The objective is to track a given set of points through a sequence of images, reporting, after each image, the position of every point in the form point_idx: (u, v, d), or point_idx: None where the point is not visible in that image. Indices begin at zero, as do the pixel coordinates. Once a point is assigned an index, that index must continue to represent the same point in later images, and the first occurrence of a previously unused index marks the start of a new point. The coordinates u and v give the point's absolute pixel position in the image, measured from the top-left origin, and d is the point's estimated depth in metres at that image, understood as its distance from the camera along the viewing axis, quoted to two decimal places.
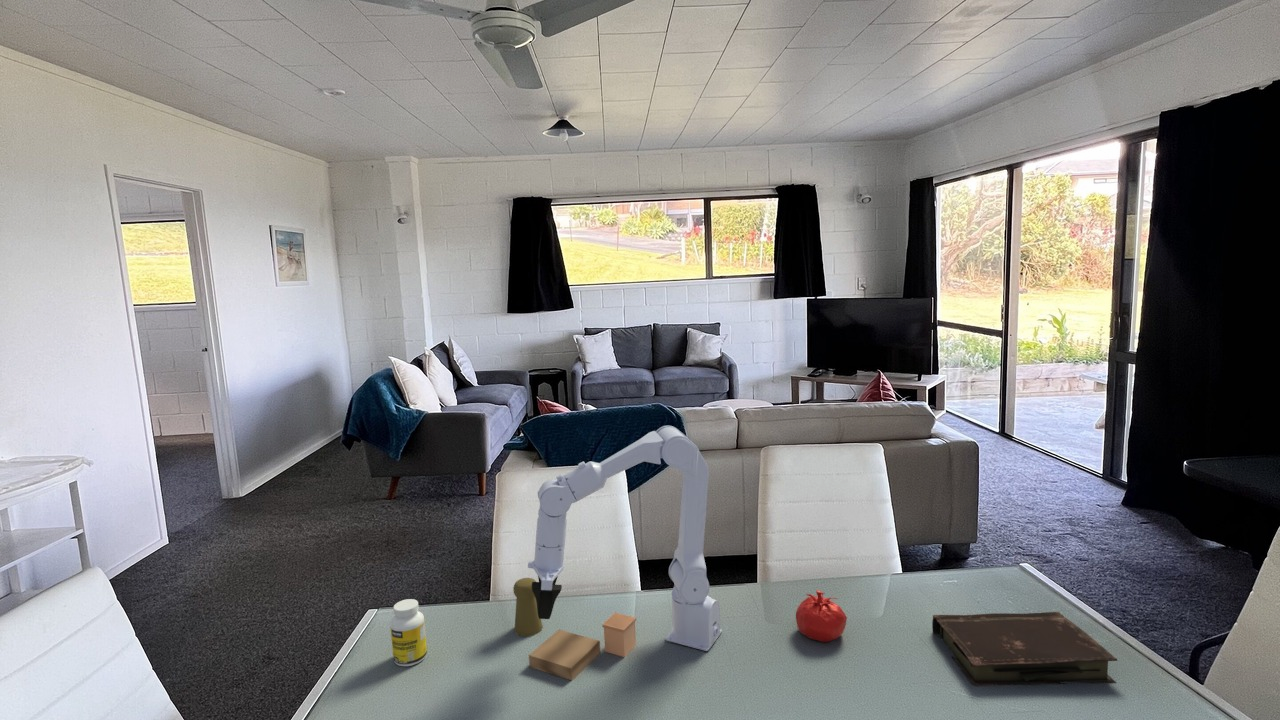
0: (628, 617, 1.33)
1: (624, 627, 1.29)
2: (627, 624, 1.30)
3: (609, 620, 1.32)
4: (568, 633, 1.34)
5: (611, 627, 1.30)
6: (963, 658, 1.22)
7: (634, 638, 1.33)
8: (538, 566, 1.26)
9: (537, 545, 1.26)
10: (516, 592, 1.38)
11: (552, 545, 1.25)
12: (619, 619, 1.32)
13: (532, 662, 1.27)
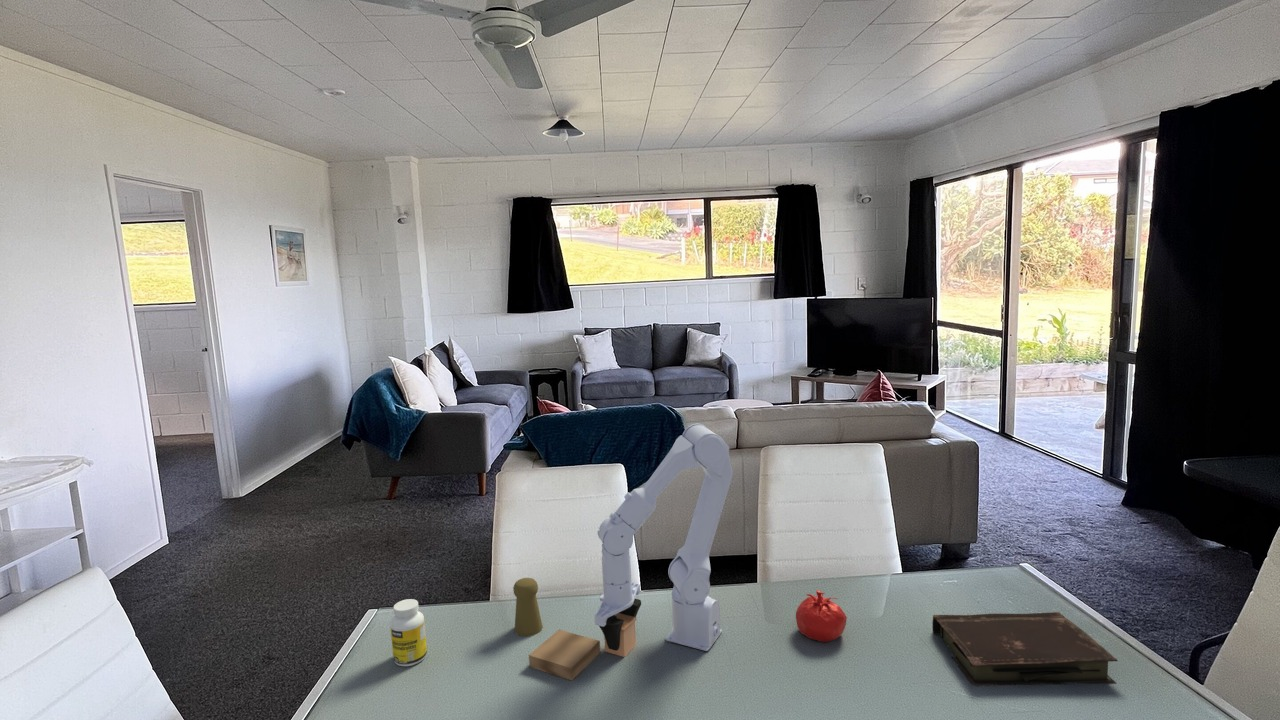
0: (628, 617, 1.33)
1: (624, 627, 1.29)
2: (627, 624, 1.30)
3: None
4: (568, 633, 1.34)
5: None
6: (963, 658, 1.22)
7: (634, 638, 1.33)
8: (604, 600, 1.30)
9: None
10: (516, 592, 1.38)
11: (620, 582, 1.28)
12: None
13: (532, 662, 1.27)
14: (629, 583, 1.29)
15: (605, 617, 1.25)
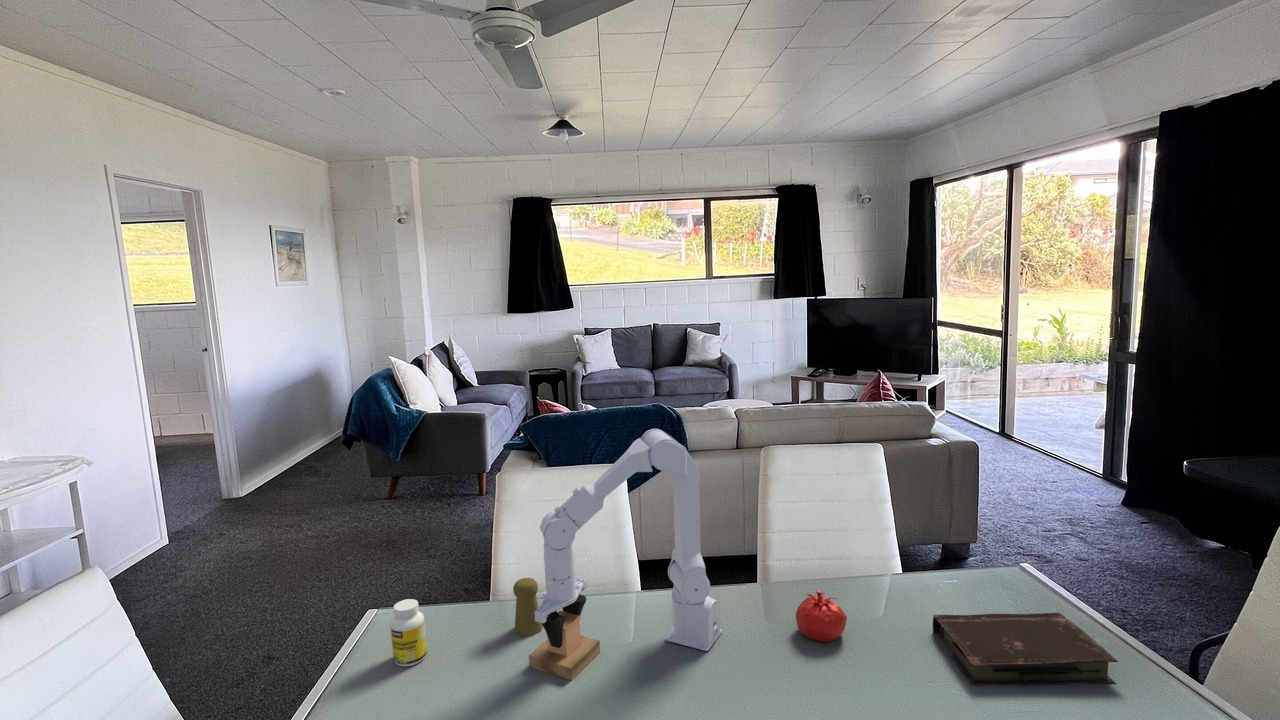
0: (572, 615, 1.30)
1: (566, 626, 1.26)
2: (570, 623, 1.27)
3: None
4: None
5: None
6: (962, 658, 1.22)
7: (579, 637, 1.30)
8: (547, 596, 1.27)
9: None
10: (516, 592, 1.38)
11: (562, 577, 1.24)
12: None
13: (532, 662, 1.27)
14: (572, 579, 1.26)
15: (545, 613, 1.22)
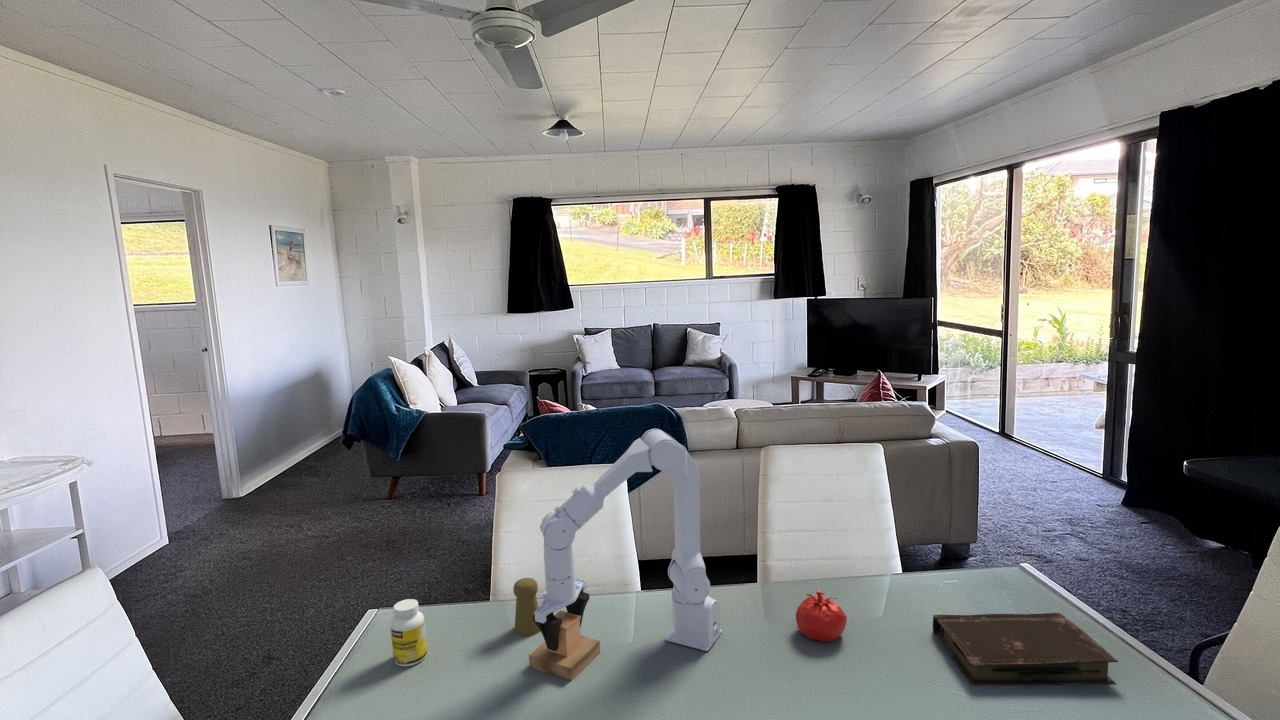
0: (573, 615, 1.30)
1: (567, 626, 1.26)
2: (570, 622, 1.27)
3: None
4: None
5: None
6: (962, 658, 1.22)
7: (579, 637, 1.30)
8: (546, 596, 1.27)
9: (545, 575, 1.27)
10: (516, 592, 1.38)
11: (562, 577, 1.24)
12: (563, 618, 1.29)
13: (532, 662, 1.27)
14: (572, 578, 1.26)
15: (545, 613, 1.22)
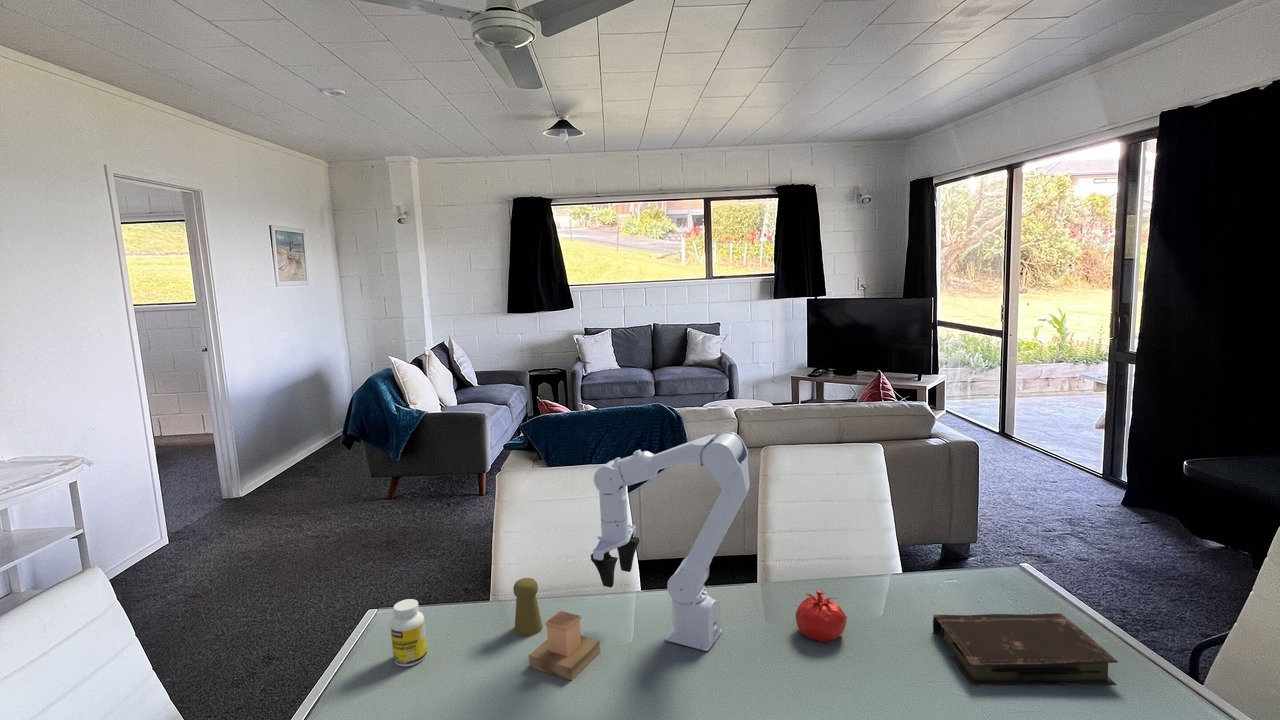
0: (573, 615, 1.30)
1: (567, 626, 1.26)
2: (570, 622, 1.27)
3: (553, 618, 1.29)
4: None
5: (554, 625, 1.27)
6: (962, 658, 1.22)
7: (579, 637, 1.30)
8: (602, 538, 1.38)
9: None
10: (516, 592, 1.38)
11: (609, 520, 1.36)
12: (563, 618, 1.29)
13: (532, 662, 1.27)
14: (625, 521, 1.37)
15: (603, 551, 1.33)
